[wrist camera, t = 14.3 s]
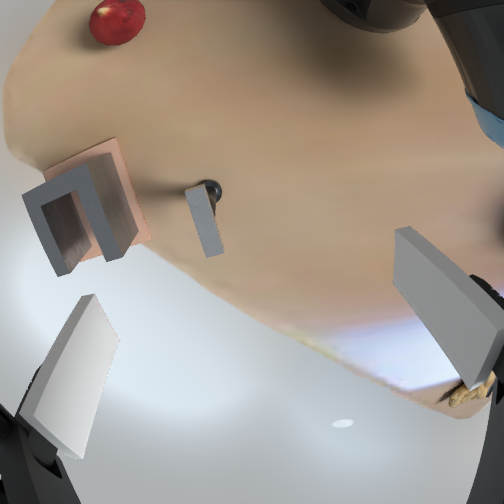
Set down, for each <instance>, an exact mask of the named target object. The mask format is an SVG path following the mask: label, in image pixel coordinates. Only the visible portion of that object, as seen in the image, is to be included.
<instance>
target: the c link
mask: <svg viewBox="0 0 504 504" xmlns="http://www.w3.org/2000/svg"><path fill="white" fill-rule="evenodd" d="M75 190H77V192H78V195H79V198H80V200H81V203H82V206H83V208H84V211H85V213H86V216H87V218H88V221H89V223H90V226H91V228H92V230H93V233H94V235H95V238H96V240H97V242H98V244H99V247H100V249H101V251H102V253H103V255H104V258H105V260H106V262H108V261H112V260H115V259H119V258H122V257H123V256H124V254H125V253H126V251H127V249H128V248H129V246H130V245H131V243H132V241H133V240H134V238H135V237H136V235H137V233H138V232H139V230H138V227H137V224H136V222H135V219H134V217H133V214H132V211H131V209H130V206H129V203H128V200H127V198H126V195H125V192H124V189H123V186H122V183H121V181H120V178H119V175H118V172H117V169H116V166H115V163H114V160H113V156H112V153H109V154H106V155H104V156H102V157H99V158H97V159H94V160H92V161H90V162H88V163H85V164H83V165H81V166H79V167H76V168H74V169H72V170H70V171H68V172H66V173H64V174H61V175H59V176H57V177H55V178H53V179H51V180H49V181H47V182H45V183H44V184H42V185H40V186H38V187H36V188H34V189H32V190H30V191H29V192H27V193H25V194H23V195H22V197H23V200H24V203H25V205H26V208H27V211H28V213H29V216H30V218H31V221H32V223H33V225H34V228H35V230H36V232H37V235H38V237H39V239H40V241H41V244H42V246H43V248H44V250H45V252H46V254H47V256H48V259H49V260H50V263H51V265H52V267H53V269H54V270H55V273H56V274H57V276H58V277H59V276H62V275H66V274H69V273H71V272H72V270H73V269H74V268H75V266H76V265H77V264H78V263H79V262H80V260H81V259H82V258H83V257H84V255H85V254H86V253H87V252H88V250H89V249H90V248H91V247H92V244H91V242H90V240H89V237H88V235H87V233H86V230H85V228H84V226H83V223H82V221H81V218H80V216H79V213H78V211H77V208H76V206H75V203H74V201H73V198H72V195H71V193H70V192H72V191H75Z"/></svg>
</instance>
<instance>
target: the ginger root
mask: <svg viewBox="0 0 504 504" xmlns="http://www.w3.org/2000/svg"><path fill="white" fill-rule="evenodd" d="M493 382H494V372H493V371H492V372H491V374H490V375H489V377H488V379H487V381H486V382H485V383H484V384H482V385H480V386H478V387H476V388H475V389H473V390H471V391H469V389H468V388H467V386H466V384H465V383H464V384H463V385H462V386H460V387H459V388H458V389H456V390H455V391H454V393H453V394H452V395H451V397H450V399H449V406H450V407H453V408H455V407H456V406H457V405H458V404H459V403H460V402H461V403H463V402H467V401H469V400H473V399H475V398H477V399H483V398H485V396H486V394H487V392H488V389H487V387H489V386H491V385H492V383H493Z"/></svg>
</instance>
